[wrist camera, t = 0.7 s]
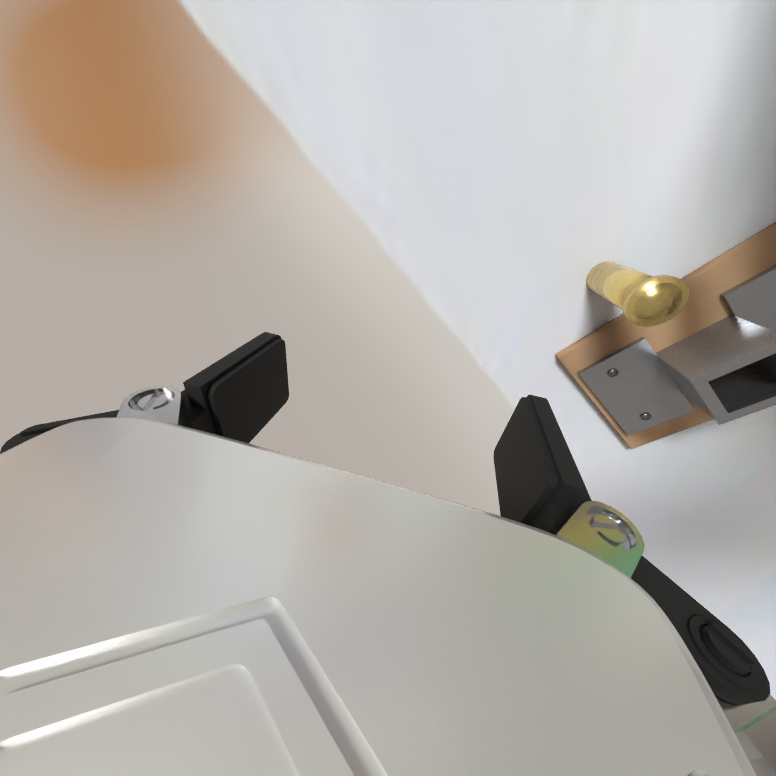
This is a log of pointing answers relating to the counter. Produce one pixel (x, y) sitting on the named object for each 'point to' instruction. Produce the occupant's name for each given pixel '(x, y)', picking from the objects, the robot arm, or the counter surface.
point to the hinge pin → (639, 293)
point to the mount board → (675, 325)
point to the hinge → (697, 366)
